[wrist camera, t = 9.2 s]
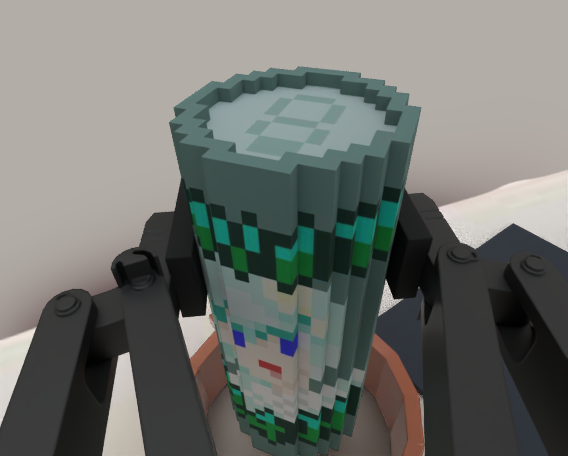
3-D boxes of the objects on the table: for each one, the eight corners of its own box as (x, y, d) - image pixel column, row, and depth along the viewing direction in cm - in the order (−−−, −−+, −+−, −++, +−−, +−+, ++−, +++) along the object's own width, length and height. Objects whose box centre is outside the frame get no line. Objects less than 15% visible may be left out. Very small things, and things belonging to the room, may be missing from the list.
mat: (511, 227, 37) (513, 222, 37) (730, 344, 27) (735, 340, 27) (358, 334, 29) (358, 330, 28) (598, 566, 19) (604, 563, 18)
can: (214, 430, 19) (123, 142, 9) (265, 329, 23) (241, 60, 13) (339, 483, 17) (394, 193, 7) (369, 362, 21) (429, 79, 11)
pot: (297, 302, 31) (298, 261, 28) (479, 490, 21) (509, 456, 18) (142, 395, 25) (122, 356, 22) (289, 710, 15) (287, 713, 12)
